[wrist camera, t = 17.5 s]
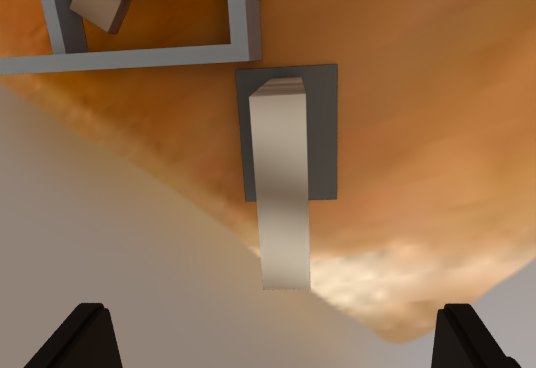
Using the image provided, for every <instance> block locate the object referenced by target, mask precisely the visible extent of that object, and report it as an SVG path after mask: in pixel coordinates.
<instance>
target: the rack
mask: <svg viewBox="0 0 536 368" xmlns="http://www.w3.org/2000/svg"><path fill="white" fill-rule="evenodd" d="M41 2H42V6H43V10H44V15H45V19H46V24H47V28H48V33H49V37H50V41H51V46H52V50H53V55H42V56H25V57H9V58H0V73H1V75H10V74H28V73H45V72H63V71H81V70H99V69H116V68H134V67H152V66H170V65H188V64H205V63H223V62H241V61H255V60H262V42H261V24H260V6H259V0H228V11H229V24H230V36H231V44H224V45H207V46H191V47H174V48H158V49H141V50H124V51H108V52H91V53H89V52H88V47H87V42H86V37H85V32H84V27H83V22H82V17H81V16H80V15H79V14H77V13H76V12H74V11H72V10H71V9H69V8H70V5H71V3H72V0H41Z"/></svg>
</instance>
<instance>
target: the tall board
mask: <svg viewBox="0 0 536 368" xmlns="http://www.w3.org/2000/svg"><path fill="white" fill-rule="evenodd" d="M249 103H250V117H251V131H252V144H253V158H254V172H255V186H256V199H257V213H258V227H259V241H260V254H261V268H262V282H263V290H276V289H277V290H278V289H279V290H281V289H282V290H283V289H285V290H291V289H292V290H295V289H311V287H310V247H309V207H308V167H307V126H306V93H305V89H304V85H303V81H302V77H286V78H271V79H270V80H268V81H267V82H266V83H265V84H264V85H262V86H261V87H260V88H259V89H258V90H257V91H255V92H254V93H253V94H252V95H251V96H250V97H249Z"/></svg>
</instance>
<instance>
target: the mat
mask: <svg viewBox="0 0 536 368" xmlns="http://www.w3.org/2000/svg"><path fill="white" fill-rule="evenodd" d="M235 73H236V85H237V98H238V111H239V124H240V137H241V149H242V162H243V175H244V188H245V200H246V202H251V201H257V199H256V186H255V172H254V158H253V144H252V131H251V117H250V103H249V97H250V96H251V95H252V94H253V93H254V92H255V91H257V90H258V89H259V88H260V87H261V86H262V85H264V84H265V83H266V82H267V81H268V80H270V79H271V78H286V77H302V81H303V85H304V89H305V93H306V126H307V167H308V200H335V199H337V82H338V64H332V65H313V66H295V67H276V68H258V69H240V70H235Z"/></svg>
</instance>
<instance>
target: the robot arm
mask: <svg viewBox="0 0 536 368" xmlns="http://www.w3.org/2000/svg"><path fill="white" fill-rule="evenodd" d="M24 368H123V367H122V363H121V359H120V354H119V350H118V346H117V341H116V338H115V333H114V329H113V324H112V321H111V316H110V312H109V310H108V309H107V308H104V306H103V304H102V303H81V304H79V305H78V306H77V307H76V308H75V309H74V310H73V311H72V313H71V314H70V315H69V316H68V317H67V319H66V320H65V321H64V322H63V323H62V324H61V325H60V327H59V328H58V329H57V330H56V331H55V332H54V333H53V334H52V336H51V337H50V338H49V339H48V340H47V341H46V343H45V344H44V345H43V346H42V347H41V348H40V349H39V351H38V352H37V353H36V354H35V355H34V356H33V358H32V359H31V360H30V361H29V362H28V363H27V364H26V366H25V367H24ZM431 368H521V367H520V365H519V364H518V363H517V362H516V360H515V359H513V358H511V357H506V356H505V354H504V353H503V351H502V350H501V348H500V347H499V345H498V344H497V342H496V341H495V339H494V338H493V337H492V335H491V334H490V332H489V331H488V329H487V328H486V326H485V325H484V324H483V322H482V321H481V319H480V318H479V316H478V315H477V313H476V312H475V310H474V309H473V308H472V306H471V305H470V304H445V306H444V309H439V310H438V313H437V321H436V329H435V338H434V347H433V355H432V364H431Z"/></svg>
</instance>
